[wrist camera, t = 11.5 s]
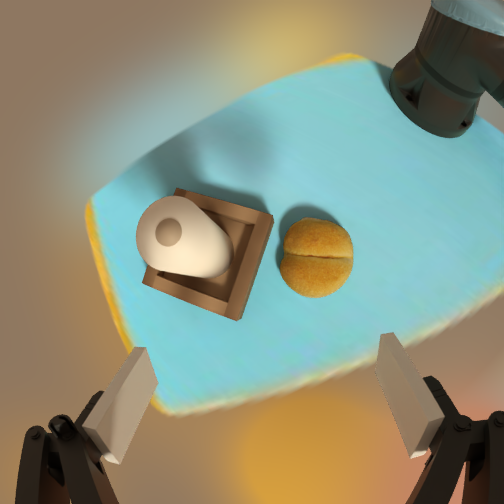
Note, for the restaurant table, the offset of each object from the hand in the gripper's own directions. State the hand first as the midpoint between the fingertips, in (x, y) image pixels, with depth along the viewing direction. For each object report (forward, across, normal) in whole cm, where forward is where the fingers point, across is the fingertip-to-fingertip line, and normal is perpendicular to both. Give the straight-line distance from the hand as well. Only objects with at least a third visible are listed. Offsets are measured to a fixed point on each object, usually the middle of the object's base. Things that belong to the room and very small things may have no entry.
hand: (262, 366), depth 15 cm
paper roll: (+20, -7, +1) cm, 21 cm away
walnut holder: (+21, -7, +1) cm, 22 cm away
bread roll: (+20, +6, -1) cm, 21 cm away
